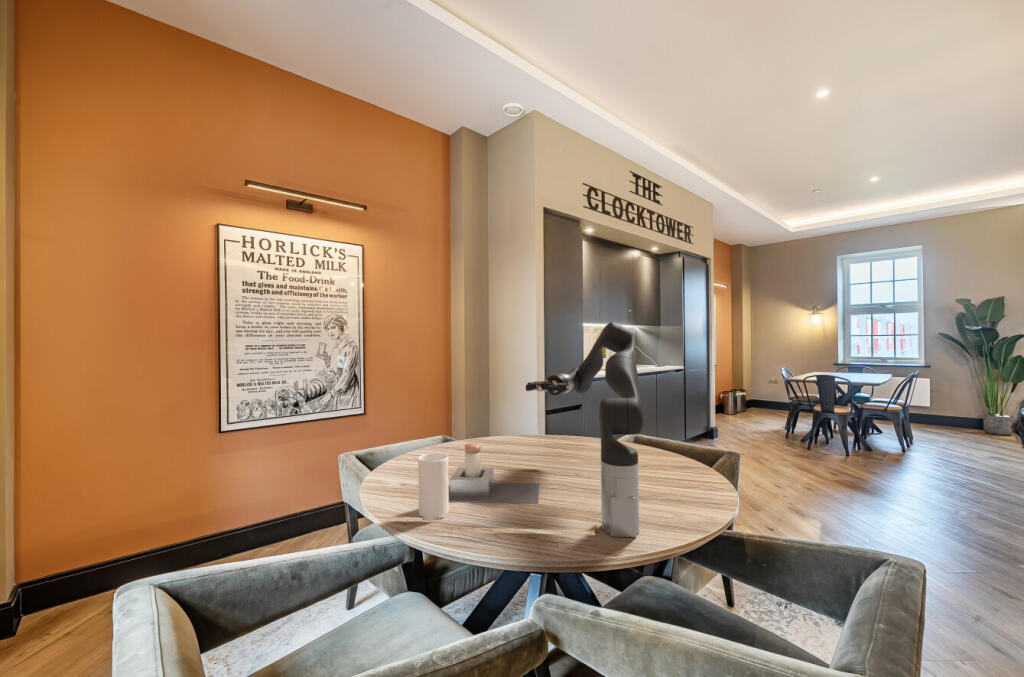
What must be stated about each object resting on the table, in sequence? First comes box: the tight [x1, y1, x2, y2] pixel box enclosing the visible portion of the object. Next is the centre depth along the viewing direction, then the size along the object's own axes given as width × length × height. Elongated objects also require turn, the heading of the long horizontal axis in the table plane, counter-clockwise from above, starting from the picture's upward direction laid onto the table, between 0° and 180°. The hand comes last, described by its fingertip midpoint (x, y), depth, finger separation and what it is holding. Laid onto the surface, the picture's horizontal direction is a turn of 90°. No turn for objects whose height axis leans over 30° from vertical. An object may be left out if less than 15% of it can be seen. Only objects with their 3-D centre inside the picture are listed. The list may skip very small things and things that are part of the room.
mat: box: [449, 481, 540, 505], centre depth 127 cm, size 17×28×1 cm, turn 86°
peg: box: [464, 442, 482, 477], centre depth 129 cm, size 5×5×14 cm
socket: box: [449, 466, 495, 497], centre depth 129 cm, size 12×12×5 cm
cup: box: [417, 452, 450, 521], centre depth 113 cm, size 8×8×16 cm
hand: (537, 388), depth 137 cm, fingers open, 8 cm apart
